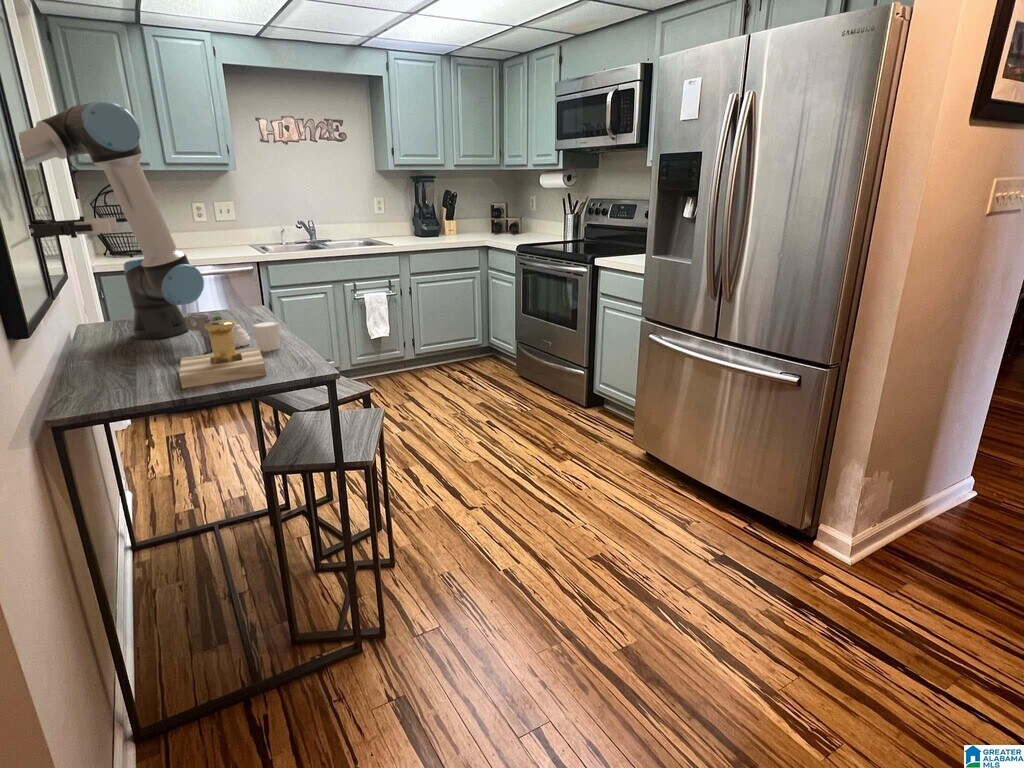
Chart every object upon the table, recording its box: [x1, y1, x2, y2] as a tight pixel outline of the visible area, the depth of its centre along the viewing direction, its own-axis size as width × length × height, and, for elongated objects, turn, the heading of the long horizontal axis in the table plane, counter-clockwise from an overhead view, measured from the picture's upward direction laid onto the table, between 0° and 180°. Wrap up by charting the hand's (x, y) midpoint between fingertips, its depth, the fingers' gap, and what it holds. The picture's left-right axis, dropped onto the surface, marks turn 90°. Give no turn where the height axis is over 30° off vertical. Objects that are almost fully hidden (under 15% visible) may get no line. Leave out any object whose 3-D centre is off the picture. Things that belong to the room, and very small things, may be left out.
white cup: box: [251, 321, 281, 352], centre depth 164 cm, size 7×7×7 cm
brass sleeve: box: [204, 319, 238, 364], centre depth 145 cm, size 6×6×12 cm
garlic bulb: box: [232, 324, 251, 348], centre depth 169 cm, size 6×6×5 cm
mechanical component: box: [184, 314, 222, 353], centre depth 162 cm, size 3×10×10 cm, turn 79°
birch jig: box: [178, 346, 267, 389], centre depth 145 cm, size 16×18×3 cm
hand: (113, 224), depth 144 cm, fingers open, 13 cm apart
